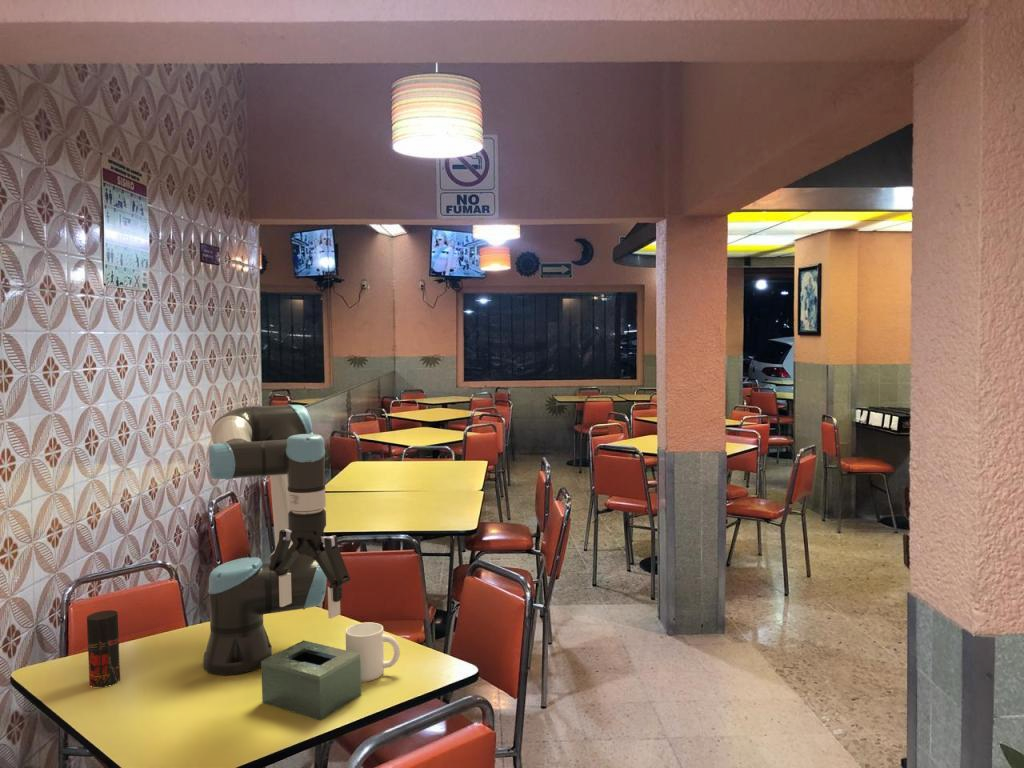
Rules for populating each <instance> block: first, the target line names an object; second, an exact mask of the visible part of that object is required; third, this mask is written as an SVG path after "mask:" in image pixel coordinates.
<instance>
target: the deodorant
mask: <svg viewBox="0 0 1024 768" xmlns="http://www.w3.org/2000/svg"><path fill="white" fill-rule="evenodd" d="M118 616H119V614H118V611H117V610H111V609H110V610H100V611H96V612H93V613H91V614H89V615H87V616H86V625H87V626H86V629H87V630H86V631H87V634H86V635H87V653H88V654H87V655H88V657H87V658H88V678H89V686H92V687H91V688H93V687H103V688H106V687H105V686H107V687H110V686H109V685H111V686H114V685H115V684H117V683H119V682H120V681H121V669H120V668H121V667H120V666H121V665H120V664H121V663H120V662H121V661H120V641H119V640H120V639H119V617H118ZM118 681H119V682H118ZM113 684H114V685H113Z"/></svg>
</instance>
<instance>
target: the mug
mask: <svg viewBox="0 0 1024 768" xmlns="http://www.w3.org/2000/svg"><path fill="white" fill-rule="evenodd" d="M385 643H388V644H389V645H391V646H392V649H393V655H392V658H391V659H390V660H385V649H384V647H385V645H384V644H385ZM400 648H401V647H400V644H399V643H398V641H397V640H396V639H395V637H393V636H391V635H389V634H385V633H384V626H383V624H380V623H376V622H369V621H368V622H359V623H355V624H352V625H350V626H348V627H346V629H345V650H346V651H351V652H355V653H359V654H360V669H361V683H362V682H364V683H365V682H371V681H374V680H377V679H379V678H380V677H381V676H382V675H383V673H385V671H384V670H385V669H387V668H391V667H393V666H394V665H395V664H396V663H397V662H398V661H399V658H400V656H401V655H400V654H401V651H400V650H401V649H400Z"/></svg>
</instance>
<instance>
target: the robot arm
mask: <svg viewBox="0 0 1024 768" xmlns="http://www.w3.org/2000/svg"><path fill="white" fill-rule="evenodd" d="M210 432H211V433H210V436H211V437H210V438H211V441H212V443H213V444H210V446H209V447H208V462H209V463H208V464H209V466H208V467H209V476H210V478H211V479H213V480H228V481H229V480H232V479H243V478H252V477H253V478H254V477H270V479H269V480H270V489H271V490H270V491H271V503H272V504H271V505H272V515H273V519H272V520H273V530H274V543H275V544H274V545H275V549H274V550H273V552H271V554H270V555H269V562H268V563H263V561H262V559H261V558H259V557H257V556H256V557H255V556H254V557H252V556H251V557H249V556H247V557H241V558H236V559H233V560H230V561H227V562H224V563H221V564H220V565H217V566H216V567H215V568H213V570H211V572H210V574H209V577H208V589H207V592H208V595H209V617H210V618H209V623H210V624H209V625H210V630H209V631H210V634H209V638H208V641H207V645H206V649H205V652H204V654H203V656H202V657H203V658H202V662H203V663H202V664H203V665H202V666H203V670H204V671H206V672H207V673H210V674H214V675H221V676H223V675H224V676H228V675H238V674H239V675H240V674H243V673H248V672H251V671H255V670H258V669H259V668H260V669H261V661H262V660H264V659H266V658H268V657H270V656H272V655H273V647H272V644H271V642H270V639H269V636H268V633H267V631H266V629H265V626H264V625H265V624H264V615H268V614H276V613H281V612H283V613H285V612H289V611H299V610H306V609H309V608H314V607H318V606H320V605H321V604H323V602H324V600H325V596H326V590H327V605H328V606H327V610H328V611H327V613H328V614H327V617H328V619H333V618H335V617H339V616H340V615H341V601H342V599H343V585H344V584H347V583H349V582H350V581H351V576H350V574H349V572H348V569H347V567H346V564H345V562H344V561H345V560H344V559H343V556H342V554H341V550H340V548H339V544H338V537H337V535H335V534H333V535H331V536H330V535H329V536H326V535H325V528H326V526H327V510H325V508H326V507H327V501H326V499H327V498H326V475H325V474H326V473H325V471H326V469H325V467H326V465H325V464H326V463H325V462H326V461H325V460H326V457H325V456H326V449H325V439H324V437H323V436H322V435H321V434H315V433H313V424H312V420H311V416H310V414H309V411H308V409H307V408H306V407H305V406H304V405H302V404H291V403H289V404H288V403H287V404H282V405H281V404H280V405H259V406H258V405H257V406H254V405H253V406H252V405H251V406H243V407H237V408H236V409H235V408H234V409H232V410H230V411H228V412H226V413H224V414H223V415H221V416H219V417H218V418H217V419H216V421H215V422H214V423H213V426H212V427H211V430H210ZM327 581H328V582H329V584H330V585H329V586H327Z"/></svg>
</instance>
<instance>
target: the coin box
mask: <svg viewBox="0 0 1024 768" xmlns="http://www.w3.org/2000/svg"><path fill="white" fill-rule="evenodd" d="M302 662H307V663H312V664H316V665H320V666H314V665H310V664H306V663H302ZM260 669H261V692H262V693H261V695H262V697H261V700H262V703H263V704H265V705H269V706H272V707H275V708H279V709H282V710H286V711H289V712H292V713H294V714H295V713H296V714H299V715H302V716H305V717H308V718H311V719H315V720H318V721H322V720H323V719H326V718H327V717H328V716H330V715H331V714H334V713H335V712H336V711H339V710H340V709H341V708H343V707H344V706H346V705H347V704H349V703H351V702H352V701H354V700H355V699H357V698H358V697H360V696H361V695H362V682H361V669H360V654H359V653H355V652H351V651H346V649H342V648H338V647H334V646H333V647H332V646H330V645H325V644H321V643H317V642H313V641H308V640H301V641H299V642H297V643H296V644H293V645H291V646H289V647H287V648H285V649H282V650H281V651H279V652H277V653H275V654H272V656H270V657H268V658H266V659H264V660H262V661H261V667H260Z"/></svg>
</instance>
